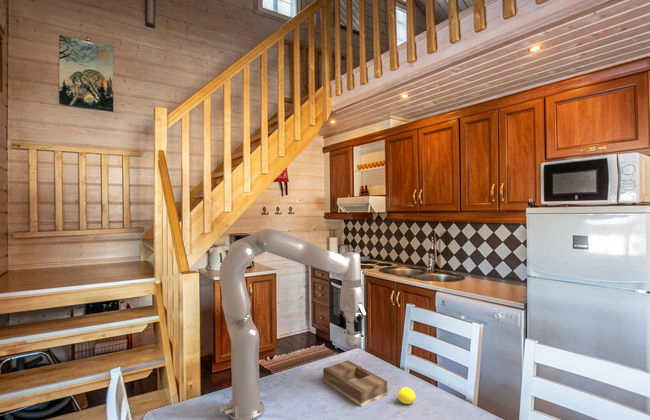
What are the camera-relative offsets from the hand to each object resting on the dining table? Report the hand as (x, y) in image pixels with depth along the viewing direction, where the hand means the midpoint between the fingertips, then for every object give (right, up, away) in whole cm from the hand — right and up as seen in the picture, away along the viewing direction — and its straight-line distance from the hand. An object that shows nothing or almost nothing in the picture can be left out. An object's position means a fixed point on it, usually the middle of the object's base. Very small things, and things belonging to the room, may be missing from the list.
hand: (352, 328), depth 140 cm
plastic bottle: (0, -7, 0) cm, 7 cm away
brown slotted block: (+1, -23, 0) cm, 23 cm away
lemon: (+18, -23, -12) cm, 32 cm away
